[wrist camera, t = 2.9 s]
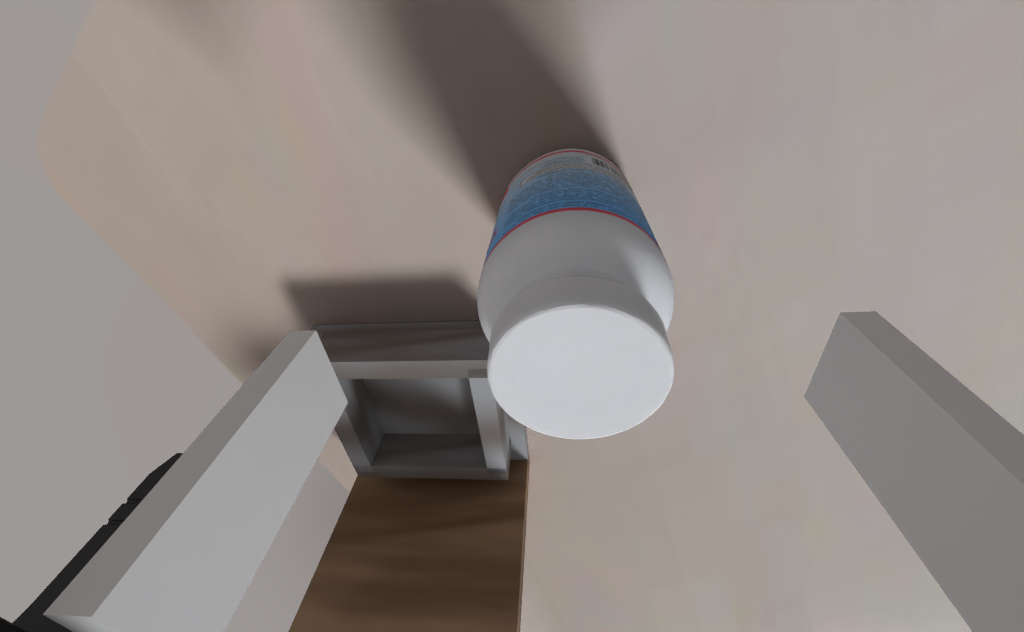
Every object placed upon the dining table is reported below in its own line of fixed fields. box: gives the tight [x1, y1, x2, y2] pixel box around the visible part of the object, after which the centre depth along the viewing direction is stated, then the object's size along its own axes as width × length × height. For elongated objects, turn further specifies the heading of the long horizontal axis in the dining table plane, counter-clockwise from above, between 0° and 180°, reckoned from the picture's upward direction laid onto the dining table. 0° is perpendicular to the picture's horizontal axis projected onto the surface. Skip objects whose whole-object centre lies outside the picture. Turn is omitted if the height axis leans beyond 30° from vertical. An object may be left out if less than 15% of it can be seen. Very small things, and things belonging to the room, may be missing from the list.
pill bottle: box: [477, 148, 674, 439], centre depth 15 cm, size 6×6×11 cm
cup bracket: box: [289, 321, 530, 632], centre depth 22 cm, size 13×12×12 cm
